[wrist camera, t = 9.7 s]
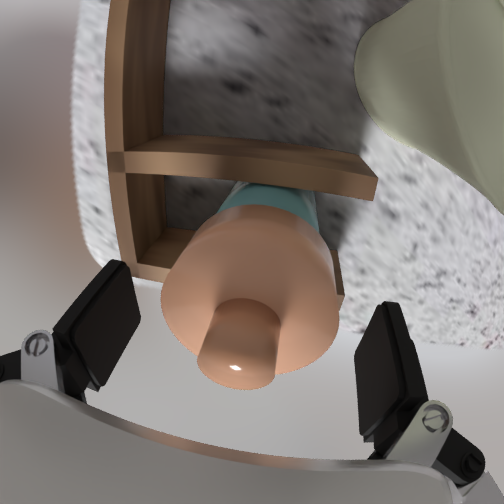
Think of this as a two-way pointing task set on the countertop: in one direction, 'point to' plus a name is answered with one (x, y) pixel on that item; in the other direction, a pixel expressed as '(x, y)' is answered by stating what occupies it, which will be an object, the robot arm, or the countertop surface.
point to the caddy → (187, 148)
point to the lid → (252, 296)
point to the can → (441, 85)
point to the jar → (274, 199)
